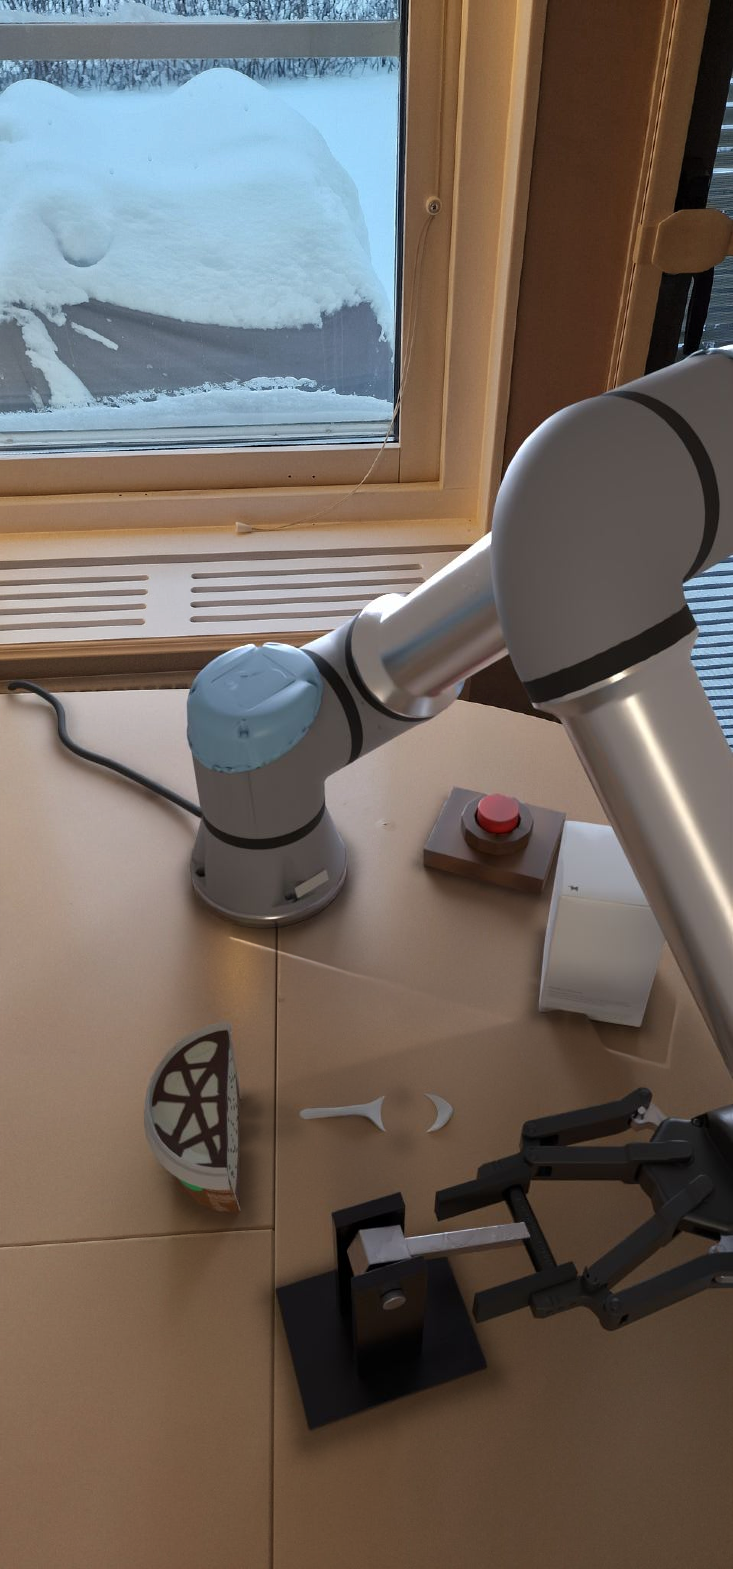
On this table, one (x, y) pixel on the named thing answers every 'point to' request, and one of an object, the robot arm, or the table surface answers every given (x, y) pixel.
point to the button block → (495, 843)
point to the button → (498, 814)
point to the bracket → (375, 1325)
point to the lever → (454, 1240)
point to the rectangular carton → (598, 931)
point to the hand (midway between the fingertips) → (456, 1255)
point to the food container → (198, 1116)
